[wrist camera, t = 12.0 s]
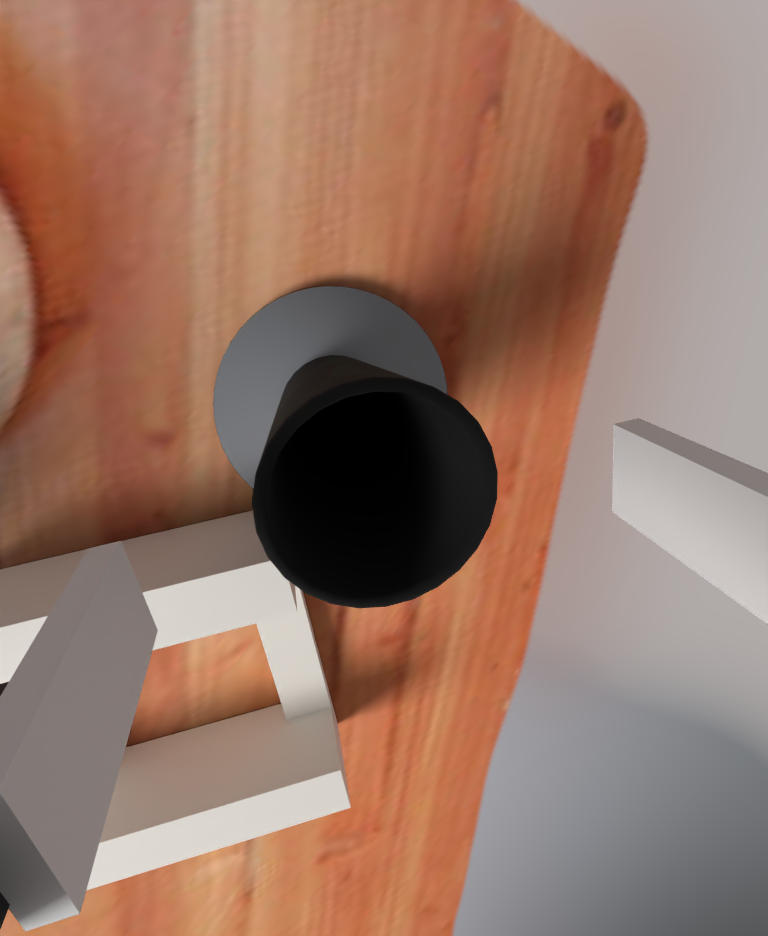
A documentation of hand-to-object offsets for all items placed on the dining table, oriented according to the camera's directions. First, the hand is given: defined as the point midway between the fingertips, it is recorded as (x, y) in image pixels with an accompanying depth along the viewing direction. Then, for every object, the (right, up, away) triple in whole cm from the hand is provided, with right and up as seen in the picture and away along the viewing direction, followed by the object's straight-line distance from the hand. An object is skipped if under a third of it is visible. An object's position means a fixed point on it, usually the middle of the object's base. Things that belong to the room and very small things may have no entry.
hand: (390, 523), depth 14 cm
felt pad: (-3, +5, +14) cm, 15 cm away
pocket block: (-12, -10, +17) cm, 23 cm away
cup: (-3, +5, +13) cm, 14 cm away
